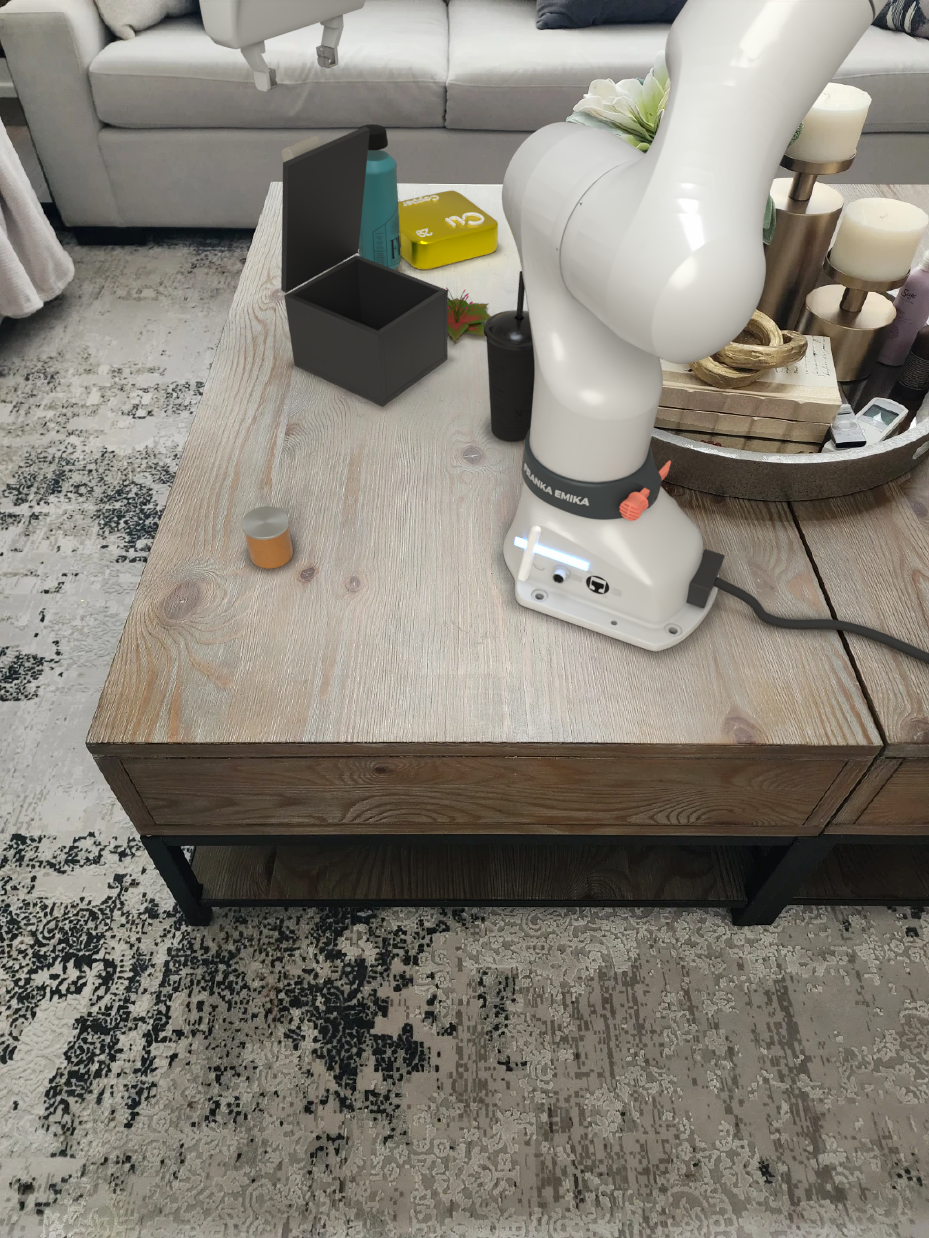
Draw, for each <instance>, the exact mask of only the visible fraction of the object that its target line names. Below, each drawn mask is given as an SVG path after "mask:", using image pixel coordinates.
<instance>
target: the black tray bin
mask: <svg viewBox="0 0 929 1238" xmlns="http://www.w3.org/2000/svg"><path fill="white" fill-rule="evenodd" d="M448 290H449V289H448ZM448 290H447V289H446V288H443V287H441V286H438V285H435V284H433V283H430V282H427V281H425V280H422V279H420V278H418V277H414V276H412V275H409V274H407V273H404V272H402V271H399V270H397V269H391V268H389V267H386V266H384V265H381V264H378V263H376V262H373V261H371V260H368V259H365V258H363V257H360V256H359V254H358V255H357V254H355V255H353V256H351V257H350V258H348V259H346V260H344V261H343V263H341V264H339V265H337V266H336V267H334V268H332V269H330V270H329V271H327V272H325V273H323V274H321V275H320V276H318V277H316V278H314V279H313V280H311V281H309V282H305V283H303V284H301V285H300V286H298V287H296V288H294V289H293V290H291V291H289V292H287V293H285V294H284V295H283V296H284V297H283V298H284V303H285V311H286V318H287V324H288V325H287V326H288V331H289V339H290V345H291V351H292V358H293V366H295V367H297V368H299V369H301V370H304V371H305V372H308V373H310V374H311V375H314V376H315V377H318V378H321V379H323V380H325V381H327V382H329V383H331V384H333V385H335V386H337V387H339V388H342V389H344V390H346V391H348V392H351V393H353V394H355V395H357V396H359V397H361V398H363V399H366V400H367V401H370V402H372V403H374V404H376V405H379V406H380V407H384V406H386V405H388V403H390V402H392V400H394V399H396V397H398V396H400V395H401V394H402V393H404V392H405V391H406V390H408V389H409V388H411V387H412V386H413V385H415V384H417V382H419V381H420V380H421V379H423V378H424V377H425V376H427V375H428V374H429V373H431V372H432V371H434V370H435V369H436V368H438V367H439V366H441V365H442V364H443V363H445V362H446V361H447V360H448V339H449V337H448V335H449V333H448V298H449V291H448Z"/></svg>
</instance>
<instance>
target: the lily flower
mask: <svg viewBox="0 0 929 1238" xmlns="http://www.w3.org/2000/svg"><path fill="white" fill-rule="evenodd" d="M445 289H446V290H448V294H449V295H450V297H451V298H450V297H448V335H449V336H450V337H451V338H452V339H453V342H454V343H456V342H457V341H458V339H459V338H460V336H461V335H463V334H464V333H466V334H471V335H472V334H473V335H477V336H483V337H486V336H485V334H484V325H485V324H483V322H486V321H487V320H488V319H489V318H490V317H491V316H492V315H490V314H489V313H488V312H486V310H487V308H488V305H489V303H479V302H474V301H470V302H468V301H467V300H468V299H469V297H470V296H469V292H468V293H466V294H465V295H464V293H465V292H466V289H464V290H463V291H462V294H461V296H460V298H458V297H457V298H454V297H453V295H452V293H451V292H450V289H449V288H448V287H445ZM457 289H458V286H457ZM463 295H464V296H463Z"/></svg>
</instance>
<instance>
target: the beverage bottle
mask: <svg viewBox="0 0 929 1238" xmlns="http://www.w3.org/2000/svg"><path fill="white" fill-rule="evenodd" d="M363 127H367V128H368V129H370V134H369V144H368V155H367V165H366V176H365V186H364V197H363V207H362V218H361V228H360V239H359V249H358V253H357V254H358V256H360V257H363V258H365V259H368V260H371V261H373V262H376V263H378V264H381V265H384V266H386V267H389V268H391V269H394V270H396V268H398V267H399V266H400V265H401V261H402V259H403V257H402V256H401V252H402V250H401V251H400V248H401V230H400V229H399V220H400V219H399V217H400V216H399V207H398V202H399V190H398V189H399V188H398V176H397V175H398V174H397V168H398V167H397V166H398V163H397V161H396V160H395V158H394V157H393V156H392V155H391V154H389V153H388V152H387V151H385V150H384V149H386V148H387V147H388V145H389V140H388V134H387V133H388V132H387V129H386V128H385V126H383V125H380V124H373V123H371V124H365V125H362V126H360V127H359V128H358V129H360V128H363Z"/></svg>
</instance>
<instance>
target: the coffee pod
mask: <svg viewBox="0 0 929 1238" xmlns="http://www.w3.org/2000/svg"><path fill="white" fill-rule="evenodd" d="M240 525H241V529H242V532H243V533H244V535H245V536H244V537H245V540H246V543H247V544H246V545H247V548H248V553H249V557H250V560H251V562H252V563H253V564H254V565H255V566H257V567H259V568H262V569H267V570H268V569H276V568H280V567H282V566H284V565H286V564H288V563H289V561H290V560H291V559H292V557H293V556H294V555H293V554H294V548H293V543H292V537H291V532H290V527H289V526H290V518H289V515H288V513H287V512H286V511H285V510H284V509H281V508H280V507H276V506H270V505H269V506H268V505H267V506H265V505H264V506H259V507H256V508H253V509H251V510H249V511H248V512H247V513H246V514H245V515H244V516H243V517H242V520H241V524H240Z"/></svg>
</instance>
